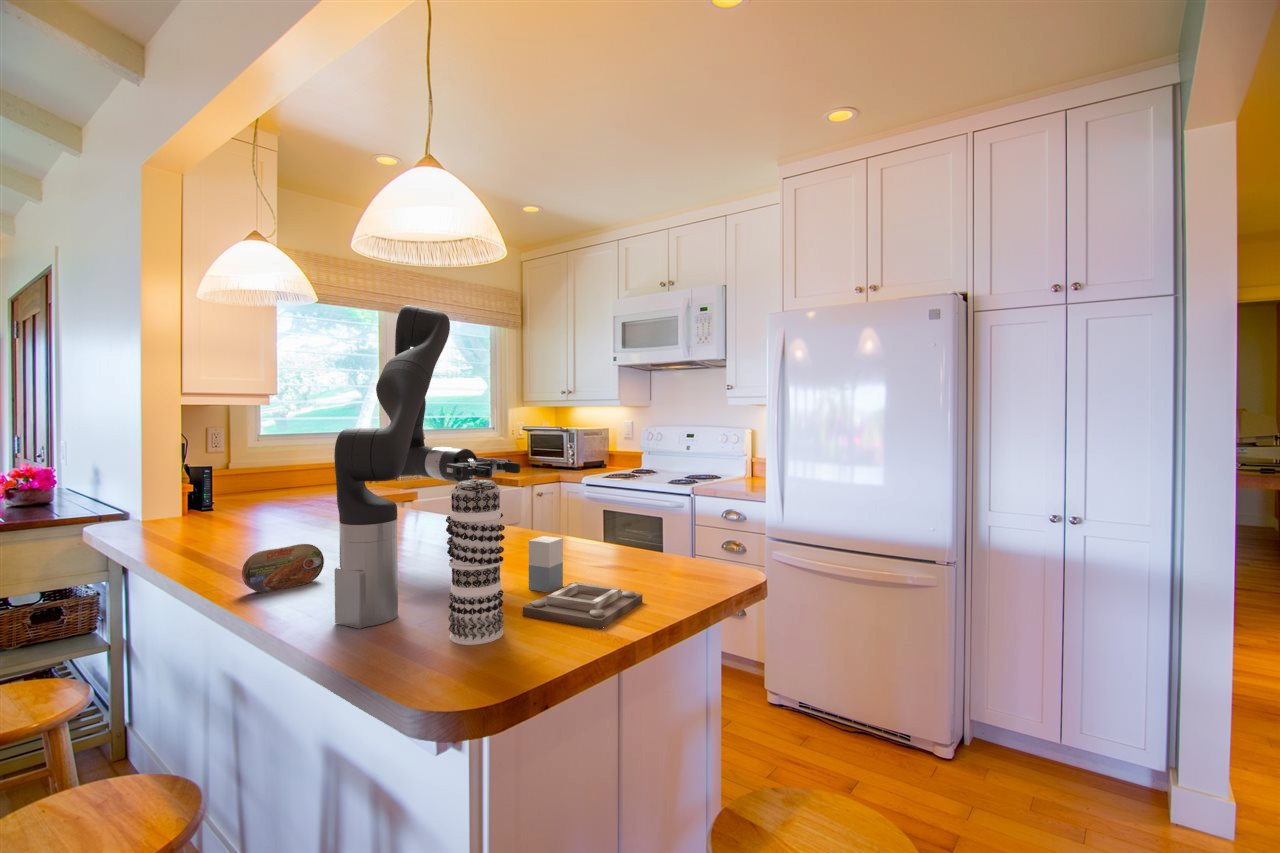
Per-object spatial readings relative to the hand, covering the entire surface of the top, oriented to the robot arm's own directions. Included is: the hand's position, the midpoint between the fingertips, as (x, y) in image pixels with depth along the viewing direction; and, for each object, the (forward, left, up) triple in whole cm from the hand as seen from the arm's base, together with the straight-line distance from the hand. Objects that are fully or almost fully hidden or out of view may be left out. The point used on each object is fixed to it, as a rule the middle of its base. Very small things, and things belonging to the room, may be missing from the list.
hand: (505, 470), depth 127 cm
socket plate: (-7, -24, -24) cm, 34 cm away
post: (+1, -10, -24) cm, 26 cm away
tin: (-22, +39, -24) cm, 51 cm away
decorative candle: (-26, -15, -24) cm, 39 cm away
